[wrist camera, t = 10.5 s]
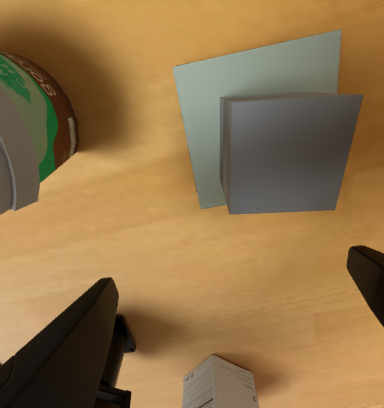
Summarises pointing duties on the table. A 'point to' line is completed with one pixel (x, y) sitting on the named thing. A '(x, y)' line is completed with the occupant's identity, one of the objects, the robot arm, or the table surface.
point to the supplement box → (219, 386)
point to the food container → (31, 130)
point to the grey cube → (285, 150)
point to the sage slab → (247, 94)
